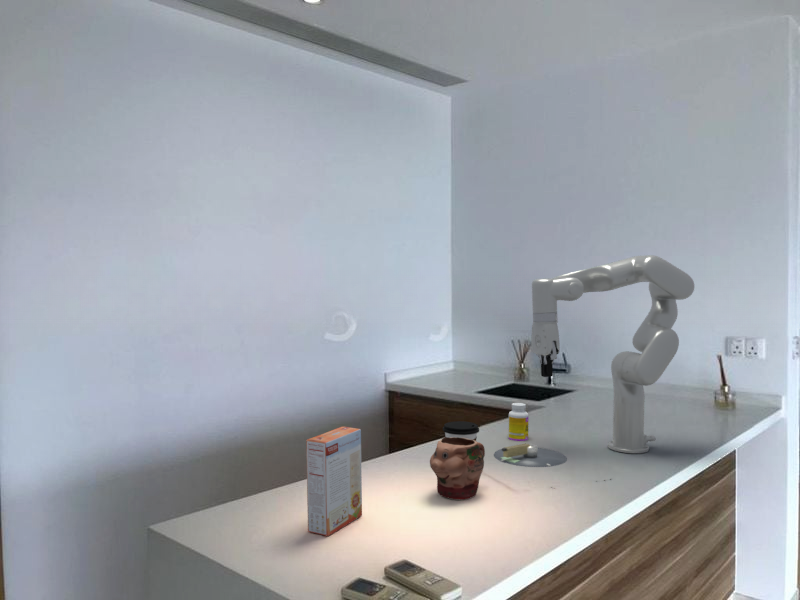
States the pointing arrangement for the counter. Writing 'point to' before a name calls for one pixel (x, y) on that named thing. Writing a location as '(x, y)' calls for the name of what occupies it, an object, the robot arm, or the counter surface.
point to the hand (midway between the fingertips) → (547, 376)
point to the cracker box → (334, 480)
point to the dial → (534, 458)
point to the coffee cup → (461, 430)
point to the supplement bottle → (518, 422)
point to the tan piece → (520, 450)
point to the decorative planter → (458, 467)
